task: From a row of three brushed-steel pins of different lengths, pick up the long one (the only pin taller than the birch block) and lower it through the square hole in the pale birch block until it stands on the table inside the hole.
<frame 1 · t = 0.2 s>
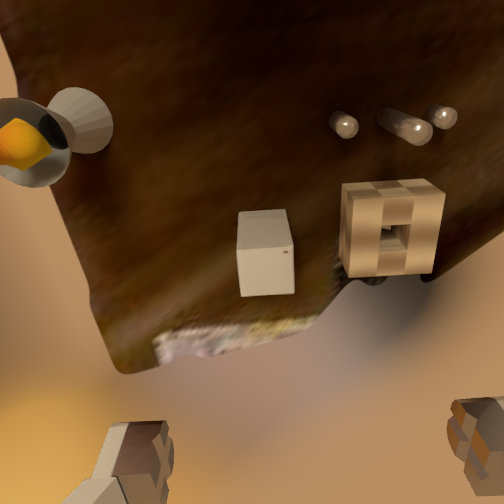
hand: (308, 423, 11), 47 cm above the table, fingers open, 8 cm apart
lava lamp: (81, 121, 52), on the table
supplement box: (263, 230, 60), on the table
short steel pin: (433, 114, 52), on the table
birch hole block: (379, 218, 59), on the table
long steel pin: (385, 117, 52), on the table
medium steel pin: (337, 120, 52), on the table
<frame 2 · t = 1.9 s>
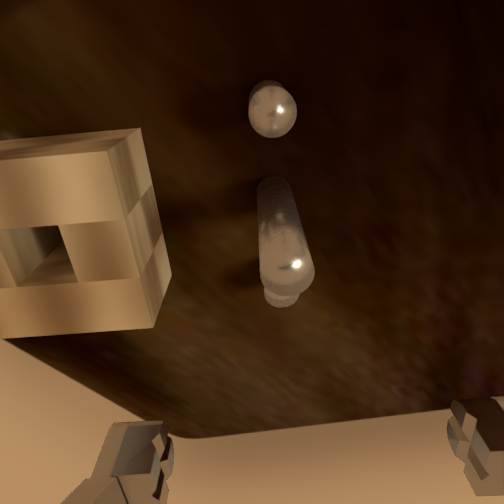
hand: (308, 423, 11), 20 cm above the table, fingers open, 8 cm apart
short steel pin: (278, 266, 32), on the table
birch hole block: (81, 214, 30), on the table
long steel pin: (273, 192, 29), on the table
medium steel pin: (267, 100, 26), on the table
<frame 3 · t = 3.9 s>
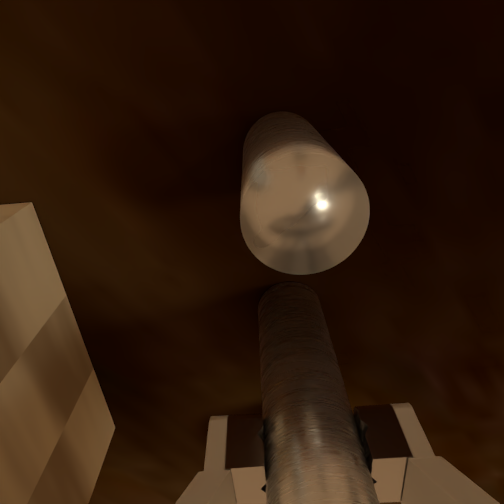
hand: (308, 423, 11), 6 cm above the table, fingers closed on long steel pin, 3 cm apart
long steel pin: (288, 308, 16), on the table, touching gripper
medium steel pin: (281, 151, 13), on the table
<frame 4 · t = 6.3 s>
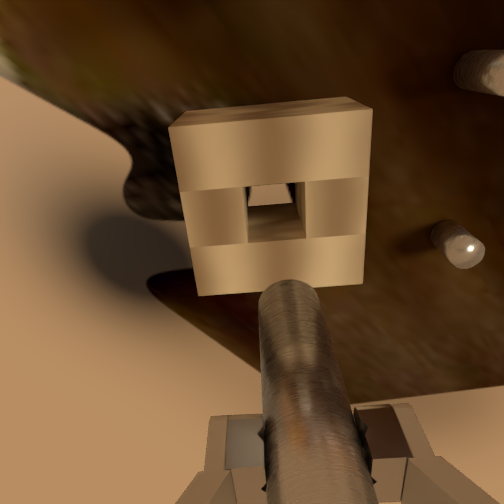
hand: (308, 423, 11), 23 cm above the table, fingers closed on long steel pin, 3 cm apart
short steel pin: (444, 233, 34), on the table
birch hole block: (270, 181, 31), on the table
long steel pin: (288, 305, 16), point 17 cm above the table, touching gripper
medium steel pin: (471, 70, 28), on the table
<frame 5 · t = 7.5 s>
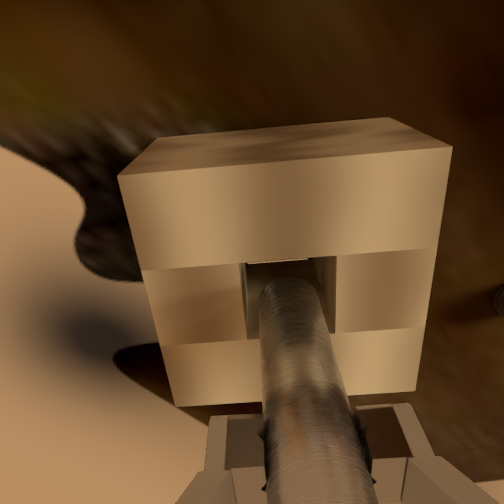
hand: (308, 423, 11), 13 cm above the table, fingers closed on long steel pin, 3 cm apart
birch hole block: (278, 232, 23), on the table
long steel pin: (288, 302, 16), point 7 cm above the table, touching gripper
when the fingers open (9 cm above the table, at t = 8.6 s): long steel pin drops 2 cm, resting in birch hole block.
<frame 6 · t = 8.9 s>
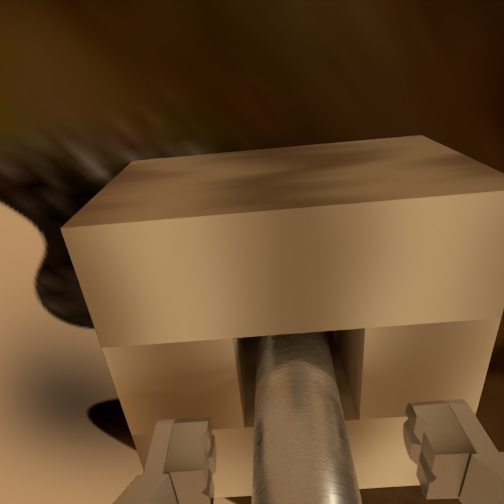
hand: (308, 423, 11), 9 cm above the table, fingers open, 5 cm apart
birch hole block: (282, 272, 19), on the table
long steel pin: (286, 273, 19), resting in birch hole block
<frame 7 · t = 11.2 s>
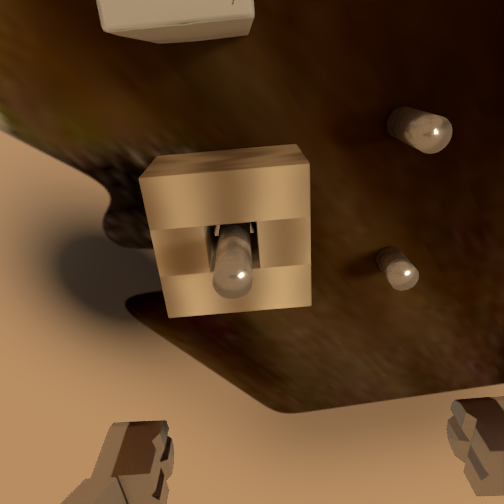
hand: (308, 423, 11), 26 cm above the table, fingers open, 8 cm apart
short steel pin: (388, 257, 38), on the table
birch hole block: (233, 214, 36), on the table
long steel pin: (235, 215, 36), resting in birch hole block
medium steel pin: (401, 122, 32), on the table
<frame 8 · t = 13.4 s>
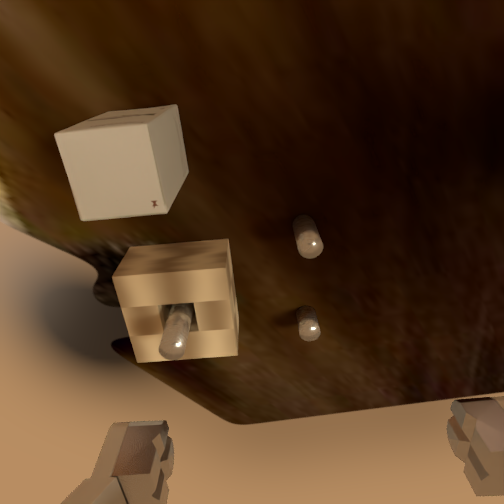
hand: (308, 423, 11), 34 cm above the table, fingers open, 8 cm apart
supplement box: (150, 142, 41), on the table
short steel pin: (305, 313, 51), on the table
birch hole block: (187, 284, 49), on the table
long steel pin: (188, 285, 49), resting in birch hole block
medium steel pin: (303, 224, 45), on the table
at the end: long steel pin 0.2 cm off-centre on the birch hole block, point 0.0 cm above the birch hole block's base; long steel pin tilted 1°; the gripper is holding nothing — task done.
